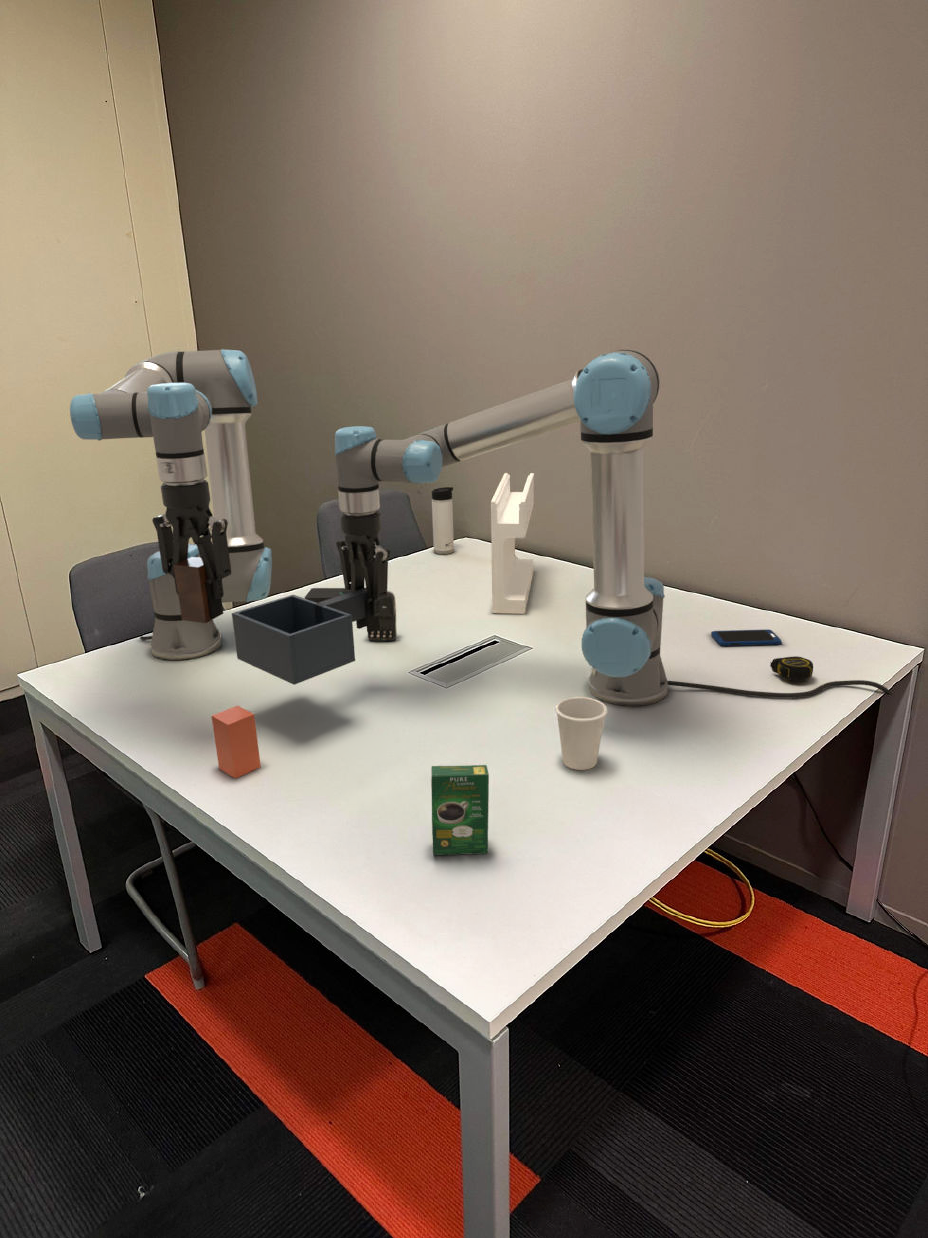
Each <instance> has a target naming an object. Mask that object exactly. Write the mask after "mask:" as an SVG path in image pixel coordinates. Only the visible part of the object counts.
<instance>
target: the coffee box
mask: <svg viewBox="0 0 928 1238" xmlns="http://www.w3.org/2000/svg"><path fill="white" fill-rule="evenodd" d="M430 768H431V770H430V771H431V775H430V776H431V777H430V778H431V779H430V780H431V782H430V783H431V784H430V785H431V837H432V838H431V839H432V856H449V855H450V856H452V855H480V854H488V853H489V808H490V807H489V806H490V805H489V804H490V803H489V801H490V799H489V797H490V795H489V794H490V793H489V792H490V791H489V790H490V773H489V769H488V765H487V764H479V765H478V764H477V765H476V764H473V765H471V764H470V765H431V767H430Z"/></svg>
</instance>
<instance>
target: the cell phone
mask: <svg viewBox="0 0 928 1238" xmlns="http://www.w3.org/2000/svg"><path fill="white" fill-rule="evenodd" d="M710 635H711V636H712V638H713V639H714V640H715V641H716V643H717V644H718V646H722V647H732V646H735V647H738V646H767V645H770V646H771V645H781V644H782V639H781V638H780V637H779V636H778V635H777V634H776V633H775V632H774V631H773V630H772V629H737V630H732V629H731V630H713V631H711V632H710Z"/></svg>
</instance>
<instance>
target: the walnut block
mask: <svg viewBox="0 0 928 1238" xmlns="http://www.w3.org/2000/svg"><path fill="white" fill-rule="evenodd" d="M174 570H175V576H176V583H177V589H178V596H179V603H180V609H181V616H182V620H184V621H192V622H199V623H208V622H209V621H211V620H213V621H214V620H215V619H216V618H218V617H221V616H222V615H223V614H221V615H219V616H218V617H216V618H214V619H212V618H210V614H209V607H208V599H207V592H206V585H205V582H206V580H208V576H207V573H206V570H205V567H204V565H203V562H202V559H201V558H199V557H191V558H189V559H186V560H184V561H182V562H180V563H177V564H175V565H174ZM221 601H222V599H221ZM223 607H224V606H223V605H222V609H223V610H224V608H223Z"/></svg>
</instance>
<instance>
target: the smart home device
mask: <svg viewBox="0 0 928 1238" xmlns="http://www.w3.org/2000/svg"><path fill="white" fill-rule="evenodd" d="M347 593H350V591H346V589H345V587H312V588H310V590H309V591H308V592H307V593H306V595H305V596H304V598H305V599H308V600H310V601H313V602H316V603H319V602H322V601H325V600H328V599H331V598H334V597H337V596H341V595H344V594H347Z"/></svg>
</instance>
